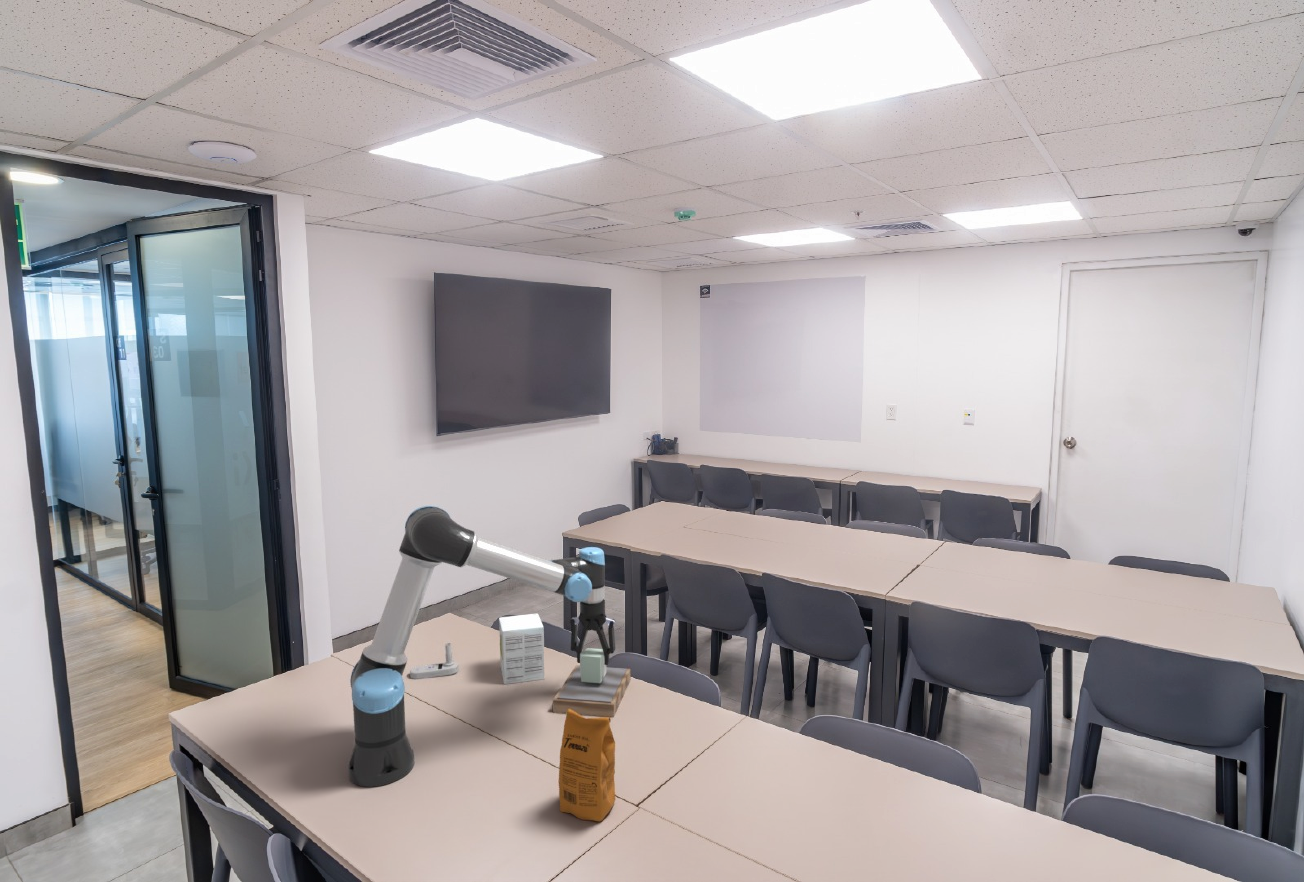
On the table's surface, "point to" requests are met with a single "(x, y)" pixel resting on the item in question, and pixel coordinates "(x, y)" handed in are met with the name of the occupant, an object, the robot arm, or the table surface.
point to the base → (593, 693)
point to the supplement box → (521, 648)
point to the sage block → (591, 665)
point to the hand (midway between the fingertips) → (593, 673)
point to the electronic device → (436, 667)
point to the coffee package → (587, 767)
